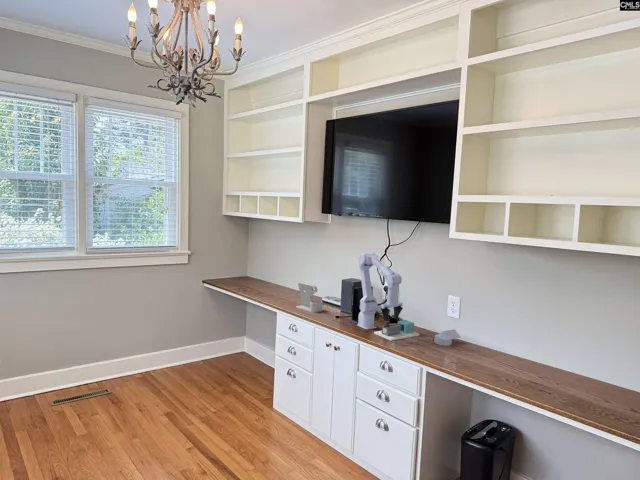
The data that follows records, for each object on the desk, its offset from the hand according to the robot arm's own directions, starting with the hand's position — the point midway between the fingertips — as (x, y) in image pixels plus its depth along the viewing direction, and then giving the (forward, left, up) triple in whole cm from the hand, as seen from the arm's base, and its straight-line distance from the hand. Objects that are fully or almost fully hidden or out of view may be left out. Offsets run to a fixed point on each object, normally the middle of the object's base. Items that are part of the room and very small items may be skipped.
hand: (390, 319), depth 247 cm
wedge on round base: (+20, +23, -10) cm, 32 cm away
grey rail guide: (-2, +3, -9) cm, 9 cm away
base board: (-2, +7, -10) cm, 12 cm away
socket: (-2, +14, -9) cm, 17 cm away
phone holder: (-69, -8, -10) cm, 70 cm away
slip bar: (-2, +3, -8) cm, 9 cm away
